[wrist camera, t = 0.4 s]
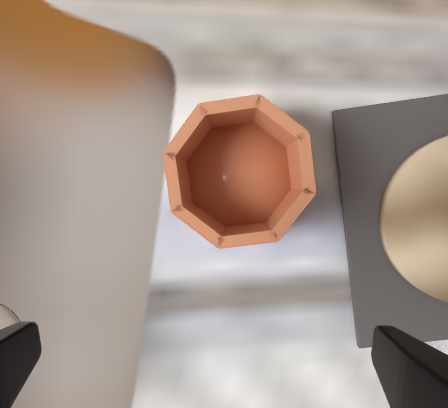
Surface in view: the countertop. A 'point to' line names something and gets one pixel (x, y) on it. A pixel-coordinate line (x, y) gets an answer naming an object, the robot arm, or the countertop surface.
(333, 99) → the countertop surface
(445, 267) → the disc with tall peg
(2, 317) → the lidded jar
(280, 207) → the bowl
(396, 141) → the mat
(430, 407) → the robot arm
